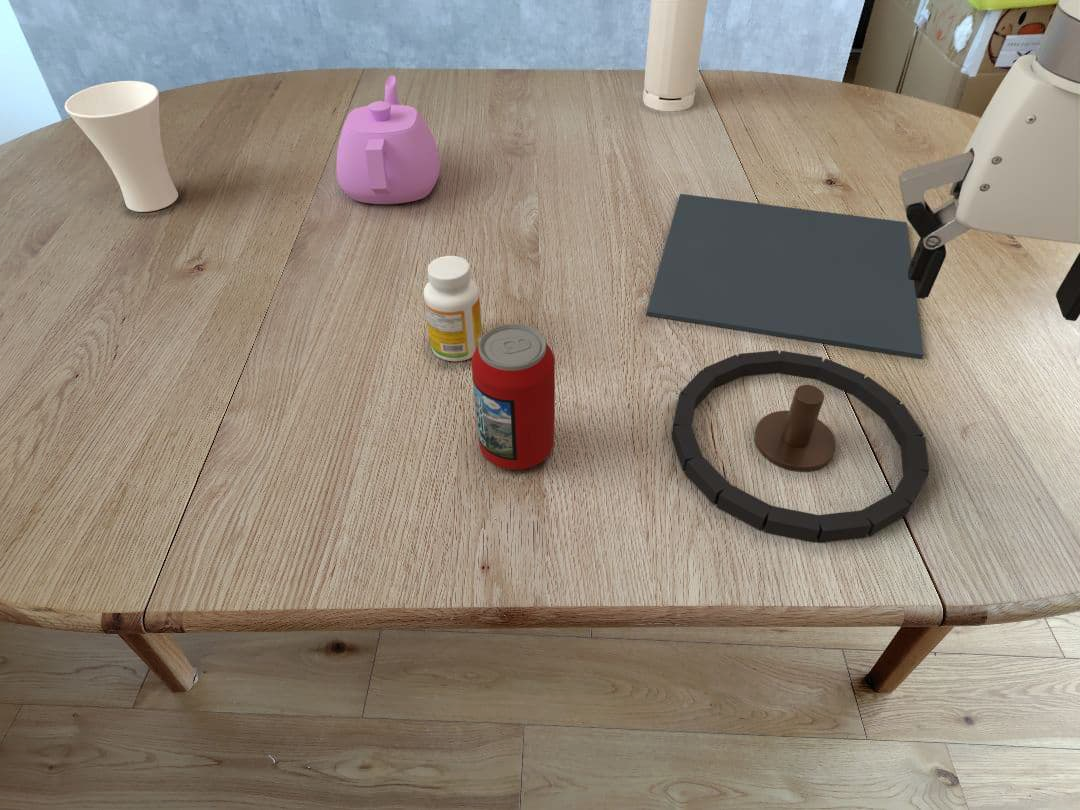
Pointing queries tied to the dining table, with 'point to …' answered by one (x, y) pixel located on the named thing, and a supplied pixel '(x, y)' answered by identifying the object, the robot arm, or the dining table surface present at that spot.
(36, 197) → the dining table surface
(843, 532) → the ring
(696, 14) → the bottle
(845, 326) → the mat
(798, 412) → the brown peg stand
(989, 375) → the dining table surface
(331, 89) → the dining table surface
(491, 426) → the beverage can
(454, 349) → the supplement bottle
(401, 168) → the teapot
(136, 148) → the cup
